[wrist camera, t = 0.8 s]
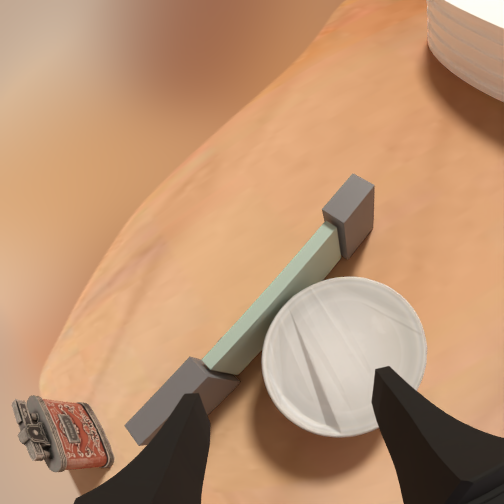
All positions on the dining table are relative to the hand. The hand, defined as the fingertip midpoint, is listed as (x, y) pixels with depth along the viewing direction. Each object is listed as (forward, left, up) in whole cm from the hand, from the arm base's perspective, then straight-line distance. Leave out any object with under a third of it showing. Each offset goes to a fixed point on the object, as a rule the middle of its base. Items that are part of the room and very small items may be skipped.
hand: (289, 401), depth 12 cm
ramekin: (0, -3, -13) cm, 14 cm away
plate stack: (+3, -56, -14) cm, 58 cm away
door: (+7, -3, -13) cm, 15 cm away
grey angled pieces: (+7, -1, -13) cm, 15 cm away
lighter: (+13, +21, -13) cm, 28 cm away
